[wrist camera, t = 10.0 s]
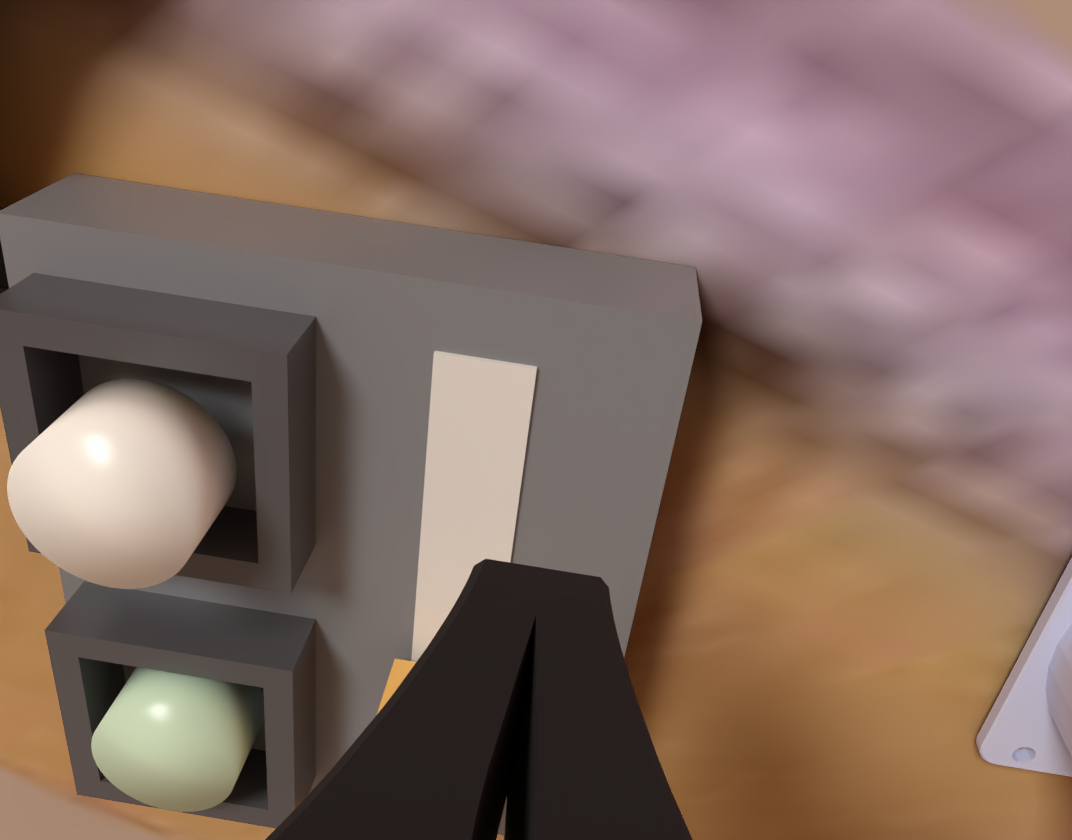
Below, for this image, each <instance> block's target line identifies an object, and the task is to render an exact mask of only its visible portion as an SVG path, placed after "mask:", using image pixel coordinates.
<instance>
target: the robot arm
mask: <svg viewBox="0 0 1072 840" xmlns="http://www.w3.org/2000/svg"><path fill="white" fill-rule="evenodd" d="M976 744H977V747H978V749H979V752H980V755H981V757H982V758H983V759H984V760H985V761H987V762H990V763H993V764H997V765H1003V766H1009V767H1015V768H1021V769H1028V770H1034V771H1040V772H1046V773H1052V774H1058V775H1064V776H1070V777H1072V557H1071V559H1070V561H1069V563H1068V565H1067V567H1066V569H1065V571H1064V573H1063V575H1062V576H1061V578H1060V580H1059V582H1058V584H1057V586H1056V588H1055V590H1054V592H1053V593H1052V595H1051V597H1050V599H1049V601H1048V603H1047V605H1046V607H1045V609H1044V610H1043V612H1042V614H1041V616H1040V618H1039V620H1038V622H1037V624H1036V626H1035V628H1034V629H1033V631H1032V633H1031V635H1030V637H1029V639H1028V641H1027V643H1026V645H1025V646H1024V648H1023V650H1022V652H1021V654H1020V656H1019V658H1018V660H1017V662H1016V664H1015V665H1014V667H1013V669H1012V671H1011V673H1010V675H1009V677H1008V679H1007V681H1006V682H1005V684H1004V686H1003V688H1002V690H1001V692H1000V694H999V696H998V698H997V700H996V701H995V703H994V705H993V707H992V709H991V711H990V713H989V715H988V717H987V718H986V720H985V722H984V724H983V726H982V728H981V730H980V732H979V734H978V735H977V739H976ZM1022 747H1024V748H1022ZM1019 748H1022V749H1019ZM506 798H507V802H506ZM505 802H506V818H505V835H504V840H692V838H691V835H690V833H689V831H688V829H687V826H686V824H685V822H684V819H683V817H682V815H681V812H680V810H679V808H678V806H677V803H676V801H675V799H674V796H673V794H672V792H671V789H670V787H669V784H668V782H667V780H666V777H665V775H664V772H663V770H662V767H661V765H660V762H659V760H658V757H657V754H656V752H655V749H654V746H653V743H652V741H651V738H650V735H649V732H648V730H647V727H646V724H645V721H644V719H643V716H642V713H641V710H640V708H639V705H638V702H637V699H636V696H635V693H634V690H633V687H632V684H631V680H630V677H629V674H628V670H627V667H626V663H625V660H624V657H623V653H622V650H621V646H620V642H619V638H618V634H617V630H616V626H615V621H614V617H613V611H612V606H611V600H610V592H609V587H608V586H607V585H606V583H605V582H604V581H603V580H602V578H601V577H597V576H590V575H584V574H578V573H572V572H565V571H559V570H553V569H547V568H541V567H534V566H528V565H522V564H516V563H510V562H503V561H497V560H491V559H484V560H483V561H481V562H479V563H477V564H476V565H474V567H473V569H472V571H471V574H470V576H469V578H468V580H467V582H466V584H465V586H464V588H463V590H462V592H461V594H460V596H459V597H458V599H457V601H456V603H455V604H454V606H453V608H452V609H451V611H450V613H449V614H448V616H447V618H446V619H445V621H444V622H443V624H442V625H441V627H440V628H439V630H438V632H437V633H436V635H435V636H434V638H433V639H432V641H431V642H430V644H429V645H428V647H427V648H426V650H425V651H424V652H423V654H422V655H421V656H420V658H419V659H418V661H417V662H416V663H415V665H414V666H413V667H412V669H411V670H410V672H409V673H408V674H407V676H406V677H405V678H404V680H403V681H402V683H401V684H400V685H399V687H398V688H397V689H396V691H395V692H394V694H393V695H392V696H391V698H390V699H389V700H388V701H387V703H386V704H385V705H384V707H383V708H382V709H381V710H380V712H379V713H378V714H377V715H376V716H375V718H374V719H373V720H372V721H371V722H370V724H369V725H368V726H367V727H366V728H365V730H364V731H363V732H362V733H361V734H360V736H359V737H358V738H357V739H356V740H355V742H354V743H353V744H352V745H351V746H350V748H349V749H348V750H347V751H346V752H345V754H344V755H343V756H342V757H341V758H340V760H339V761H338V762H337V763H336V764H335V766H334V767H333V768H332V769H331V770H330V771H329V772H328V774H327V775H326V776H325V777H324V778H323V779H322V780H321V781H320V782H319V784H318V785H317V786H316V787H315V788H314V789H313V790H312V791H311V792H310V794H309V795H308V796H307V797H306V798H305V799H304V800H303V801H302V802H301V803H300V804H299V805H298V806H297V808H296V809H295V810H294V811H293V812H292V813H291V814H290V815H289V816H288V817H287V818H286V819H285V820H284V821H283V822H282V823H281V824H280V825H279V826H278V827H277V828H276V829H275V830H274V831H273V832H272V833H271V834H270V835H269V836H268V837H267V838H266V840H496V838H497V834H498V830H499V826H500V822H501V818H502V814H503V810H504V806H505Z"/></svg>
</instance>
